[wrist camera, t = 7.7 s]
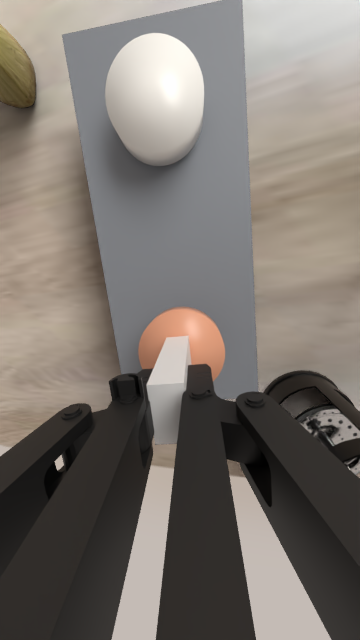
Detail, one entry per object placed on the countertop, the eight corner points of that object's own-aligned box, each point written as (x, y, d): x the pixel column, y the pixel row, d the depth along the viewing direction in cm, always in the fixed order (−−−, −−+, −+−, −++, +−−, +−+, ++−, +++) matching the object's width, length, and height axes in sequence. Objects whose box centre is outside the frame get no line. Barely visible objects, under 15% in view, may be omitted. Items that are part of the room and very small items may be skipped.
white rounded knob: (198, 120, 21) (199, 22, 13) (203, 190, 22) (208, 143, 14) (134, 130, 22) (96, 44, 13) (143, 199, 23) (114, 159, 15)
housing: (227, 84, 21) (242, -4, 14) (242, 364, 27) (258, 397, 20) (103, 107, 22) (61, 34, 15) (143, 372, 28) (126, 405, 21)
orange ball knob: (212, 293, 23) (222, 307, 15) (217, 349, 24) (228, 390, 16) (154, 299, 24) (132, 315, 15) (161, 354, 25) (144, 396, 17)
